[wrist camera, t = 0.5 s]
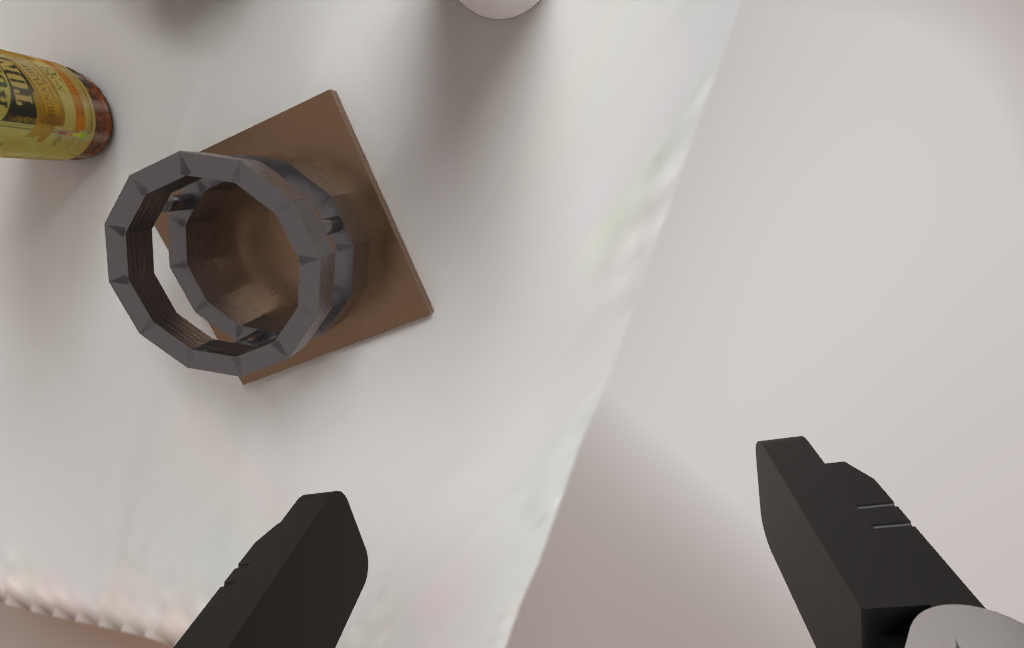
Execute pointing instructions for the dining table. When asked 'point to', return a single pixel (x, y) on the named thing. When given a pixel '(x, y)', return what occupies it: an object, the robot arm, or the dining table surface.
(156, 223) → the collar stand
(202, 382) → the dining table surface
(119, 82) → the dining table surface
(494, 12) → the cylindrical container
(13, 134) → the sauce bottle
